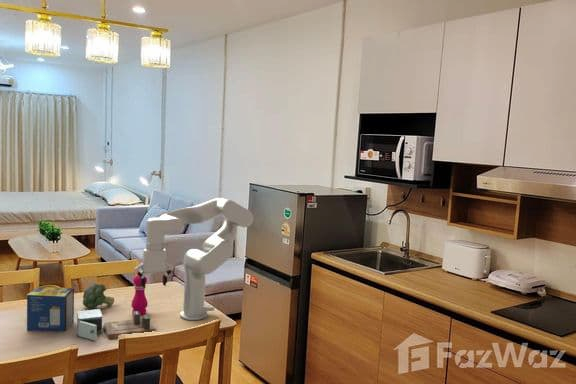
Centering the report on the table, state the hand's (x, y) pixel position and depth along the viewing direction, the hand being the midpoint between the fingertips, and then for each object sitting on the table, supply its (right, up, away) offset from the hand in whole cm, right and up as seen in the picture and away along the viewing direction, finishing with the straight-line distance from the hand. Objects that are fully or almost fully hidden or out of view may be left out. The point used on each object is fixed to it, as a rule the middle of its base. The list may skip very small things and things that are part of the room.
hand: (153, 285), depth 206 cm
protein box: (-42, -16, -6) cm, 46 cm away
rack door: (-23, -18, -15) cm, 33 cm away
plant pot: (-53, -14, +13) cm, 56 cm away
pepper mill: (-11, -16, +15) cm, 24 cm away
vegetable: (-32, -14, +19) cm, 40 cm away
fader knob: (-7, -16, -2) cm, 18 cm away
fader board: (-9, -18, -4) cm, 21 cm away
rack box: (-25, -17, -7) cm, 31 cm away
